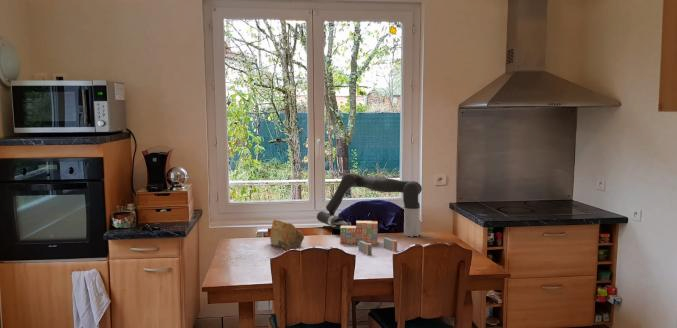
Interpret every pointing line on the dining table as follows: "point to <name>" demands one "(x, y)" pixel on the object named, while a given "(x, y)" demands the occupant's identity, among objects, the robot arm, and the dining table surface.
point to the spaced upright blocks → (367, 247)
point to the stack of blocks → (359, 232)
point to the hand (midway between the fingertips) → (348, 227)
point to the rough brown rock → (285, 235)
